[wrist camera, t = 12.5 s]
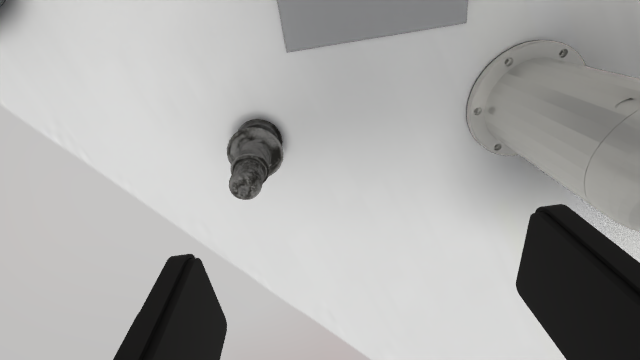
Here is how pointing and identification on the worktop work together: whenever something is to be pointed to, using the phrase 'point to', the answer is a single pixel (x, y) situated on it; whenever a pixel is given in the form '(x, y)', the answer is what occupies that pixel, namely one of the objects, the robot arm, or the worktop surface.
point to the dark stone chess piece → (253, 157)
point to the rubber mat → (362, 19)
